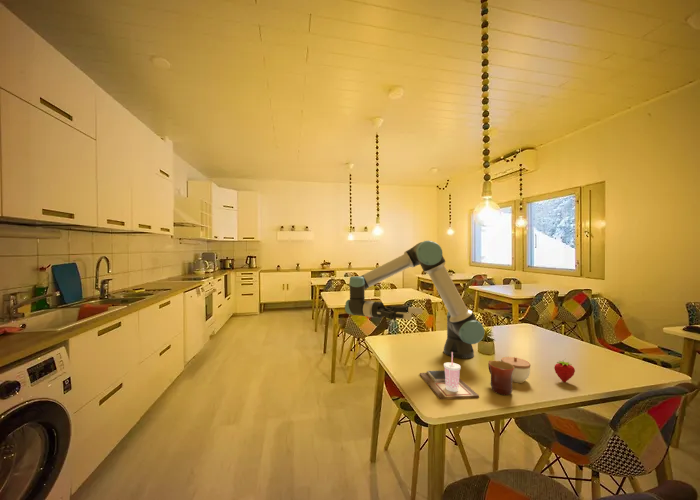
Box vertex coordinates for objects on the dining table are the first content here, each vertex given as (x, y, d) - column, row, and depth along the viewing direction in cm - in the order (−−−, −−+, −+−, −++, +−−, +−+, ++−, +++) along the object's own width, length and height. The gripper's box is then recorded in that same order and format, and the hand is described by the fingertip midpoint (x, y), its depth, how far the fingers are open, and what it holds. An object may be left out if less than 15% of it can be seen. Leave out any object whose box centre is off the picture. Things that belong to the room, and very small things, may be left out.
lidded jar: (530, 387, 110) (530, 364, 110) (500, 381, 116) (500, 358, 116) (530, 377, 119) (530, 356, 119) (501, 372, 125) (501, 351, 125)
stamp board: (452, 373, 123) (452, 369, 123) (478, 397, 102) (479, 392, 102) (419, 374, 121) (419, 370, 121) (439, 399, 100) (439, 394, 100)
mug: (520, 396, 103) (519, 369, 103) (497, 397, 102) (497, 369, 102) (499, 382, 115) (499, 357, 115) (479, 382, 114) (479, 357, 114)
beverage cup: (463, 388, 107) (463, 352, 107) (456, 394, 102) (457, 356, 102) (447, 383, 111) (447, 348, 111) (441, 388, 106) (441, 352, 107)
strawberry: (579, 385, 113) (579, 360, 113) (561, 385, 112) (561, 360, 112) (567, 378, 119) (566, 355, 119) (550, 379, 118) (550, 355, 118)
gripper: (385, 312, 144) (425, 317, 132) (361, 322, 123) (406, 328, 111) (385, 298, 144) (425, 301, 132) (360, 305, 123) (405, 310, 111)
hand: (416, 313), depth 122 cm, fingers open, 13 cm apart
